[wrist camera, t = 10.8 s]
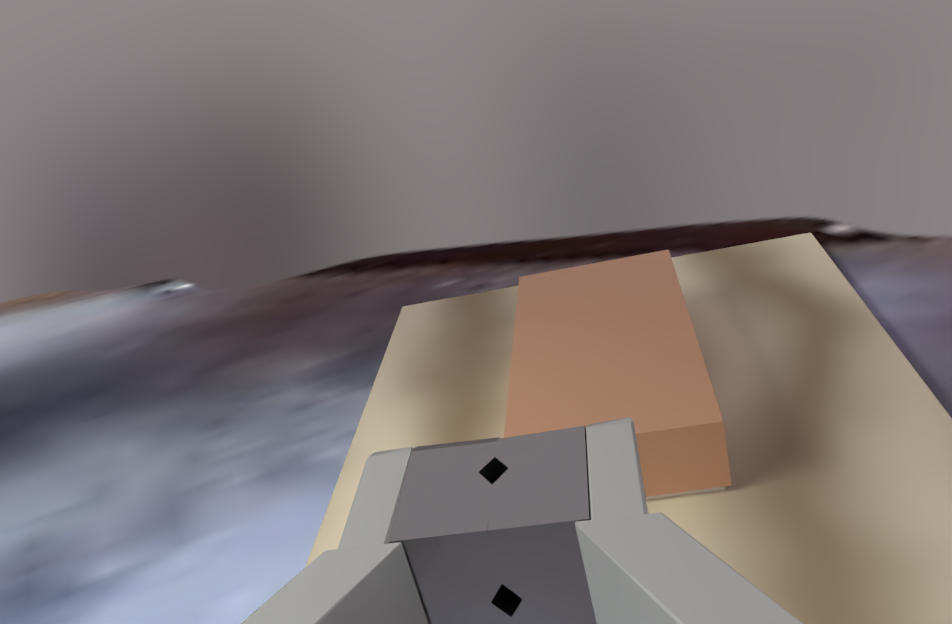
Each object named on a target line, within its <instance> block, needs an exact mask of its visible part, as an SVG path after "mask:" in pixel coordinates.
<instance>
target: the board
mask: <svg viewBox="0 0 952 624" xmlns="http://www.w3.org/2000/svg"><path fill="white" fill-rule="evenodd" d="M672 262H673V265H674V268H675V271H676V274H677V277H678V280H679V284H680V287H681V290H682V293H683V296H684V299H685V302H686V306H687V309H688V312H689V315H690V318H691V321H692V324H693V328H694V331H695V334H696V337H697V340H698V343H699V346H700V350H701V353H702V356H703V359H704V362H705V365H706V368H707V371H708V375H709V378H710V381H711V384H712V387H713V390H714V393H715V397H716V400H717V403H718V406H719V409H720V412H721V415H722V419H723V422H724V430H725V438H726V445H727V453H728V460H729V468H730V475H731V483H732V486H725V490H720V491H712V492H704V493H697V494H689V495H681V496H674V497H666V498H658V499H651V500H647V506H648V512H649V514H651V513H663V514H664V515H665V516H667V517H668V518H669V519H670V520H672V521H673V522H674V523H675V524H677V525H678V526H679V527H681V528H682V529H683V530H684V531H686V532H687V533H688V534H689V535H691V536H692V537H693V538H695V539H696V540H697V541H698V542H700V543H701V544H702V545H703V546H705V547H706V548H707V549H709V550H710V551H711V552H712V553H714V554H715V555H716V556H718V557H719V558H720V559H721V560H723V561H724V562H725V563H726V564H728V565H729V566H730V567H732V568H733V569H734V570H735V571H737V572H738V573H739V574H740V575H742V576H743V577H744V578H746V579H747V580H748V581H749V582H751V583H752V584H753V585H754V586H756V587H757V588H758V589H760V590H761V591H762V592H763V593H765V594H766V595H767V596H769V597H770V598H771V599H772V600H774V601H775V602H776V603H777V604H779V605H780V606H781V607H783V608H784V609H785V610H786V611H788V612H789V613H790V614H791V615H793V616H794V617H795V618H797V619H798V620H799V621H800V622H802V623H803V624H952V418H951V417H950V415H949V414H948V413H947V412H946V410H945V409H944V408H943V406H942V405H941V404H940V402H939V401H938V400H937V398H936V397H935V396H934V394H933V393H932V392H931V390H930V389H929V388H928V386H927V385H926V384H925V382H924V381H923V380H922V379H921V377H920V376H919V375H918V373H917V372H916V371H915V369H914V368H913V367H912V365H911V364H910V363H909V361H908V360H907V359H906V357H905V356H904V355H903V353H902V352H901V351H900V349H899V348H898V347H897V345H896V344H895V343H894V342H893V340H892V339H891V338H890V336H889V335H888V334H887V332H886V331H885V330H884V328H883V327H882V326H881V324H880V323H879V322H878V320H877V319H876V318H875V316H874V315H873V314H872V312H871V311H870V310H869V308H868V307H867V306H866V305H865V303H864V302H863V301H862V299H861V298H860V297H859V295H858V294H857V293H856V291H855V290H854V289H853V287H852V286H851V285H850V283H849V282H848V281H847V279H846V278H845V277H844V275H843V274H842V273H841V272H840V270H839V269H838V268H837V266H836V265H835V264H834V262H833V261H832V260H831V258H830V257H829V256H828V254H827V253H826V252H825V250H824V249H823V248H822V246H821V245H820V244H819V242H818V241H817V240H816V238H815V237H814V236H813V235H812V233H806V234H800V235H795V236H789V237H784V238H778V239H773V240H767V241H761V242H756V243H750V244H745V245H739V246H734V247H728V248H723V249H717V250H712V251H706V252H701V253H695V254H690V255H684V256H679V257H673V258H672ZM517 294H518V286H513V287H508V288H502V289H497V290H491V291H485V292H480V293H474V294H469V295H463V296H458V297H452V298H447V299H441V300H436V301H430V302H425V303H419V304H414V305H408V306H403V307H402V309H401V312H400V315H399V317H398V320H397V323H396V326H395V328H394V331H393V334H392V336H391V339H390V342H389V344H388V347H387V350H386V352H385V355H384V358H383V360H382V363H381V366H380V368H379V371H378V374H377V376H376V379H375V382H374V384H373V387H372V390H371V393H370V395H369V398H368V401H367V403H366V406H365V409H364V411H363V414H362V417H361V419H360V422H359V425H358V427H357V430H356V433H355V435H354V438H353V441H352V443H351V446H350V449H349V451H348V454H347V457H346V460H345V462H344V465H343V468H342V470H341V473H340V476H339V478H338V481H337V484H336V486H335V489H334V492H333V494H332V497H331V500H330V502H329V505H328V508H327V510H326V513H325V516H324V518H323V521H322V524H321V527H320V529H319V532H318V535H317V537H316V540H315V543H314V545H313V548H312V551H311V553H310V556H309V559H308V561H307V564H306V567H307V566H308V565H309V564H310V563H311V562H312V561H314V560H315V559H316V558H317V557H318V556H319V555H321V554H322V553H323V552H324V551H327V550H335V549H338V546H339V543H340V540H341V537H342V534H343V530H344V527H345V524H346V521H347V518H348V515H349V512H350V509H351V506H352V503H353V500H354V497H355V494H356V491H357V488H358V485H359V482H360V479H361V475H362V472H363V469H364V466H365V463H366V460H367V459H368V457H369V456H370V455H372V454H373V453H374V452H379V451H387V450H394V449H401V448H408V447H412V448H416V447H418V446H426V445H435V444H444V443H453V442H462V441H471V440H480V439H489V438H498V437H500V438H504V429H505V419H506V408H507V398H508V388H509V377H510V367H511V356H512V346H513V336H514V325H515V315H516V305H517ZM306 567H305V568H306Z"/></svg>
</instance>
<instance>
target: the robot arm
mask: <svg viewBox="0 0 952 624" xmlns="http://www.w3.org/2000/svg"><path fill="white" fill-rule="evenodd" d="M241 624H803V623H802V622H800V621H799V620H798V619H797V618H795V617H794V616H793V615H791V614H790V613H789V612H788V611H786V610H785V609H784V608H783V607H781V606H780V605H779V604H777V603H776V602H775V601H774V600H772V599H771V598H770V597H769V596H767V595H766V594H765V593H763V592H762V591H761V590H760V589H758V588H757V587H756V586H754V585H753V584H752V583H751V582H749V581H748V580H747V579H746V578H744V577H743V576H742V575H740V574H739V573H738V572H737V571H735V570H734V569H733V568H732V567H730V566H729V565H728V564H726V563H725V562H724V561H723V560H721V559H720V558H719V557H718V556H716V555H715V554H714V553H712V552H711V551H710V550H709V549H707V548H706V547H705V546H703V545H702V544H701V543H700V542H698V541H697V540H696V539H695V538H693V537H692V536H691V535H689V534H688V533H687V532H686V531H684V530H683V529H682V528H681V527H679V526H678V525H677V524H675V523H674V522H673V521H672V520H670V519H669V518H668V517H667V516H665V515H664V514H663V513H651V514H649V512H648V506H647V500H646V494H645V488H644V482H643V475H642V469H641V463H640V457H639V451H638V445H637V439H636V433H635V427H634V421H633V420H632V419H631V418H630V417H628V418H622V419H616V420H611V421H605V422H599V423H593V424H587V426H579V427H573V428H566V429H559V430H553V431H546V432H539V433H533V434H526V435H519V436H513V437H506V438H500V437H498V438H489V439H480V440H471V441H462V442H453V443H444V444H435V445H426V446H418V447H416V448H412V447H408V448H401V449H394V450H387V451H379V452H374V453H373V454H372V455H370V456H369V457H368V459H367V460H366V463H365V466H364V469H363V472H362V475H361V479H360V482H359V485H358V488H357V491H356V494H355V497H354V500H353V503H352V506H351V509H350V512H349V515H348V518H347V521H346V524H345V527H344V530H343V534H342V537H341V540H340V543H339V546H338V549H335V550H327V551H324V552H323V553H322V554H321V555H319V556H318V557H317V558H316V559H315V560H314V561H312V562H311V563H310V564H309V565H308V566H307V567H306V568H304V569H303V570H302V571H301V572H300V573H299V574H298V575H296V576H295V577H294V578H293V579H292V580H291V581H289V582H288V583H287V584H286V585H285V586H284V587H283V588H281V589H280V590H279V591H278V592H277V593H276V594H274V595H273V596H272V597H271V598H270V599H269V600H268V601H266V602H265V603H264V604H263V605H262V606H261V607H260V608H258V609H257V610H256V611H255V612H254V613H253V614H251V615H250V616H249V617H248V618H247V619H246V620H245V621H243V622H242V623H241Z"/></svg>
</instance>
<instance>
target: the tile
mask: <svg viewBox="0 0 952 624" xmlns="http://www.w3.org/2000/svg"><path fill="white" fill-rule="evenodd" d="M628 417H630V418H631V419H632V420H633V421H634V427H635V433H636V439H637V445H638V451H639V457H640V463H641V469H642V475H643V482H644V488H645V494H646V500H651V499H658V498H666V497H674V496H681V495H689V494H697V493H704V492H712V491H720V490H725V486H732V483H731V475H730V468H729V460H728V453H727V445H726V438H725V430H724V422H723V419H722V415H721V412H720V409H719V406H718V403H717V400H716V397H715V393H714V390H713V387H712V384H711V381H710V378H709V375H708V371H707V368H706V365H705V362H704V359H703V356H702V353H701V350H700V346H699V343H698V340H697V337H696V334H695V331H694V328H693V324H692V321H691V318H690V315H689V312H688V309H687V306H686V302H685V299H684V296H683V293H682V290H681V287H680V284H679V280H678V277H677V274H676V271H675V268H674V265H673V262H672V258H671V255H670V252H669V250H663V251H658V252H653V253H647V254H642V255H636V256H631V257H625V258H620V259H614V260H609V261H603V262H598V263H592V264H587V265H582V266H576V267H571V268H565V269H560V270H554V271H549V272H543V273H538V274H532V275H527V276H521V277H519V284H518V294H517V305H516V315H515V325H514V336H513V346H512V356H511V367H510V377H509V388H508V398H507V408H506V419H505V429H504V438H506V437H513V436H519V435H526V434H533V433H539V432H546V431H553V430H559V429H566V428H573V427H579V426H587V424H593V423H599V422H605V421H611V420H616V419H622V418H628Z"/></svg>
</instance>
